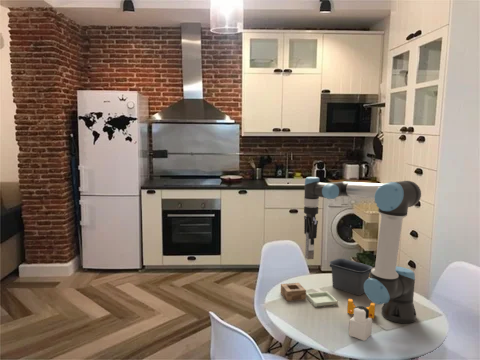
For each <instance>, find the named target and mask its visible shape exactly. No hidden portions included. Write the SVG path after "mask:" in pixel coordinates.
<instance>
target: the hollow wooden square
mask: <svg viewBox="0 0 480 360" xmlns="http://www.w3.org/2000/svg"><path fill="white" fill-rule="evenodd" d="M306 293H307V289H306V288H304V286H302V285H301V283H300V282H292V283H290V282H289V283H281V284H280V294H281V295H282V297H284V299H285V300H286V301H289V302H291V301H302V300H306V299H307V298H306Z"/></svg>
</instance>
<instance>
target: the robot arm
mask: <svg viewBox="0 0 480 360" xmlns="http://www.w3.org/2000/svg"><path fill="white" fill-rule="evenodd" d="M338 197H355V198H366V199H374V203H375V204H376V207H377V208H378V209H377V210H378V214H379V215H380V224H379V232H378V240H377V247H376V256H375V257H376V258H375V262H374V263H375V264H374V267H373V268H372V269H371V272H370V273H369V278H368V279H367V280H366V281H365V283H364V291H365V293H364V294H365V295H366V296H367V298H368V300H370V301H371V303H375V305H382V307H381V312H380V313H381V316H382V317H384V318H385V319H387V320H389V321H391V322H394V323H398V324H411V323H415V322H416V320H417V312H416V308H415V305H414V295H415V283H416V274H415V272H414V271H413V270H412V269H410V268H407V267H403V266H398V265H397V263H398V255H399V247H400V240H401V232H402V228H403V227H402V225H403V219H404V218H406V217H407V216H408V212H409V211H408V210H409V208H411V207H414V206H415V205H417V204H418V203H419V202H420V200H421V198H422V190H421V188H420V186H419V185H418V184H417V183H416V182H413V181H411V180H402V181H401V180H400V181H390V182H386V183H385V182H383V183H382V182H379V183H378V182H361V181H359V182H358V181H357V182H356V181H348V180H343V181H337V182H336V181H335V182H321V181H320V177H318V176H307V177H306V178H305V180H304V197H303V213H304V214H306V215H304V216H303V218H304V219H303V220H304V221H303V222H304V223H303V224H304V226H303V228H304V230H303V231H304V232H303V233H304V235H305V236H306V232H310V238H309V251H310V250H314V251H315V239H317V233H318V223H319V220H316V219H317V217H316V215H317V214H319V202H320V200H319V199H320V198H323V199H328V200H334V199H337V198H338Z"/></svg>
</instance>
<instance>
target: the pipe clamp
mask: <svg viewBox="0 0 480 360" xmlns="http://www.w3.org/2000/svg"><path fill="white" fill-rule="evenodd" d="M355 307H357V306H356V305H355V303H354V300H353V299H352V298H348V300H347V313H349V314H348V315H352V314H354V308H355ZM365 307H366V308H367V309H368V310H369V318H371V319H372V318H373V319H372V320H374V319H375V314H376V303H373V302H370V305H369V306H365Z"/></svg>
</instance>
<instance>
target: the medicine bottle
mask: <svg viewBox="0 0 480 360" xmlns="http://www.w3.org/2000/svg"><path fill="white" fill-rule="evenodd" d="M366 307H367V306H365V307H364V306H361V305H357V306H356V307H355V308H354V315H353V316H352V317H351V318H350V319H349V326H348V336H349V337H352V338H354V339H355V338H356V339H358V340H360V341H364V342H365V341H367V339H369V337H371V336H372V327H373V319H372V318H369V310H368V309H367V308H366Z"/></svg>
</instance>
